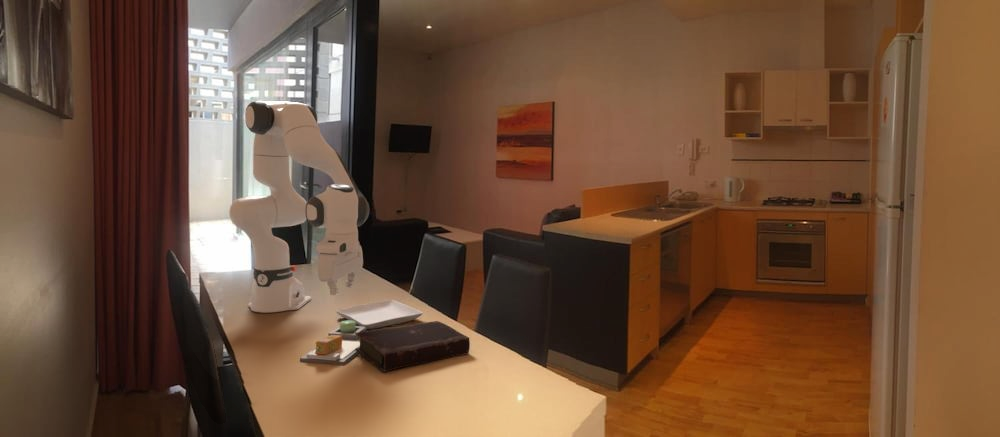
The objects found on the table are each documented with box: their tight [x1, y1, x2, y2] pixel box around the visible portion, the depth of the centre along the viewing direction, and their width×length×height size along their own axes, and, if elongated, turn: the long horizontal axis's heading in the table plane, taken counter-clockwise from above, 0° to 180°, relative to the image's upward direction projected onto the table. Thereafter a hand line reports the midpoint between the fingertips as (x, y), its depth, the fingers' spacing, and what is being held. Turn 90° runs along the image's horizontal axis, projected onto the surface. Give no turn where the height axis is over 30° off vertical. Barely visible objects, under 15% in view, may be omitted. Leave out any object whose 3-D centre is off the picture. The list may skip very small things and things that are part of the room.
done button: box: [339, 319, 357, 333], centre depth 159 cm, size 4×4×3 cm
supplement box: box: [315, 335, 342, 354], centre depth 143 cm, size 3×3×10 cm
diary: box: [355, 320, 471, 372], centre depth 146 cm, size 19×25×5 cm
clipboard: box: [299, 339, 360, 366], centre depth 146 cm, size 16×12×2 cm
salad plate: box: [335, 299, 424, 330], centre depth 177 cm, size 21×21×3 cm
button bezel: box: [327, 325, 367, 341], centre depth 159 cm, size 8×8×2 cm
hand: (342, 290), depth 155 cm, fingers open, 8 cm apart
